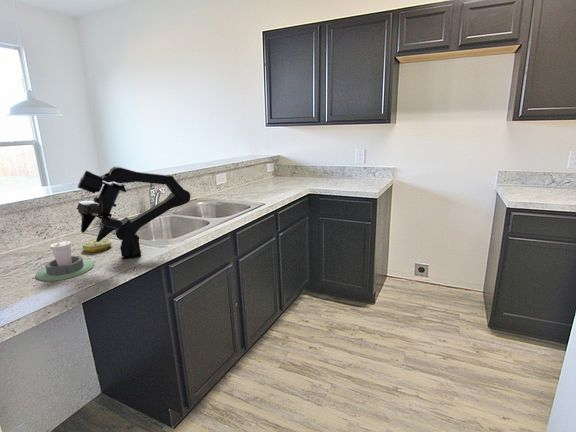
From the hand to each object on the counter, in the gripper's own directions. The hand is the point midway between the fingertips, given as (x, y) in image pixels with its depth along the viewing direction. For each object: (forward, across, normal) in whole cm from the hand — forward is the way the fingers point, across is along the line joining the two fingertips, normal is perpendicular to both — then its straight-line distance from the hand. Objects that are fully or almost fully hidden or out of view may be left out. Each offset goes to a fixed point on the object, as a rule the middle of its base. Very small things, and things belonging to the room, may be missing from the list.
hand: (89, 236), depth 125 cm
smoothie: (+14, -1, -3) cm, 14 cm away
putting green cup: (+14, -1, -3) cm, 14 cm away
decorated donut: (+8, -12, +16) cm, 22 cm away
